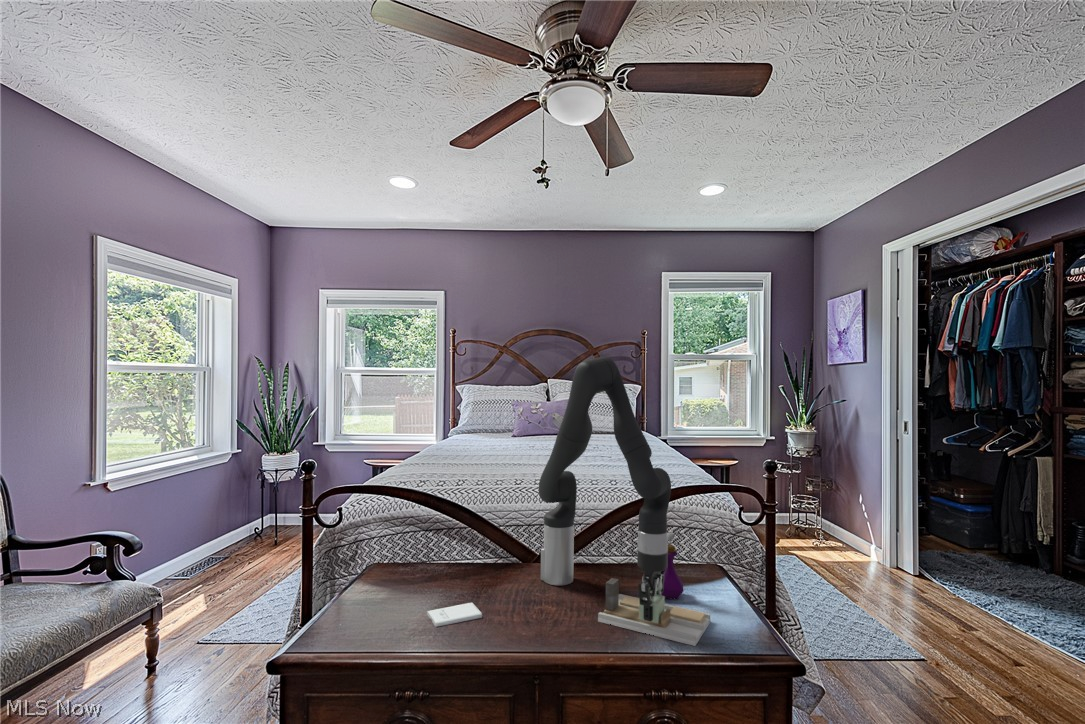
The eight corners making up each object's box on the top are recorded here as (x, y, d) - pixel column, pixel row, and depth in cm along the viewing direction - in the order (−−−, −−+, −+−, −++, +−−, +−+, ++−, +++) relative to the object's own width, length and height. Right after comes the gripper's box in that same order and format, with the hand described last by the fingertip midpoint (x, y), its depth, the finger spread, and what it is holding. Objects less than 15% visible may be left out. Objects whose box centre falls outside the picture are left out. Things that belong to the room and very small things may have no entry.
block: (638, 618, 142) (639, 598, 142) (645, 611, 146) (645, 592, 146) (658, 623, 140) (658, 603, 140) (664, 615, 144) (664, 596, 144)
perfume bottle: (683, 602, 158) (684, 538, 158) (656, 600, 160) (656, 536, 160) (682, 592, 166) (682, 530, 166) (656, 590, 167) (656, 528, 167)
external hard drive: (482, 619, 148) (435, 629, 142) (471, 607, 155) (426, 616, 149) (482, 613, 148) (435, 622, 142) (471, 601, 155) (426, 609, 149)
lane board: (598, 621, 146) (598, 611, 146) (619, 600, 159) (620, 591, 159) (695, 646, 134) (695, 635, 134) (710, 621, 147) (710, 611, 147)
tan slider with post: (603, 615, 147) (604, 583, 147) (611, 608, 151) (611, 577, 151) (664, 629, 139) (664, 596, 139) (670, 622, 143) (670, 589, 143)
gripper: (657, 559, 135) (657, 630, 135) (675, 543, 148) (674, 608, 147) (628, 553, 139) (627, 623, 139) (647, 538, 151) (647, 602, 151)
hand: (651, 615), depth 143 cm, fingers closed on block, 5 cm apart
